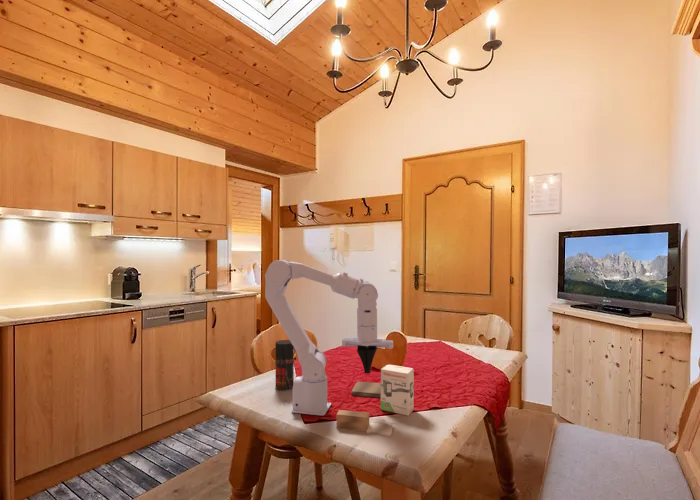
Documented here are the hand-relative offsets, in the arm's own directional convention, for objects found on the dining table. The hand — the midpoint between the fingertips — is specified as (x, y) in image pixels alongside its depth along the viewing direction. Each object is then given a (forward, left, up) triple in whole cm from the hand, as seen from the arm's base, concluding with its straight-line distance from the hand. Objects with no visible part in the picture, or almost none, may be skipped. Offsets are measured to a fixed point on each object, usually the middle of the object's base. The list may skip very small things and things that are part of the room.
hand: (367, 372), depth 106 cm
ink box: (+8, +1, -11) cm, 14 cm away
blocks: (+1, -12, -11) cm, 16 cm away
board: (+2, +13, -10) cm, 17 cm away
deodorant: (-30, +10, -11) cm, 33 cm away
